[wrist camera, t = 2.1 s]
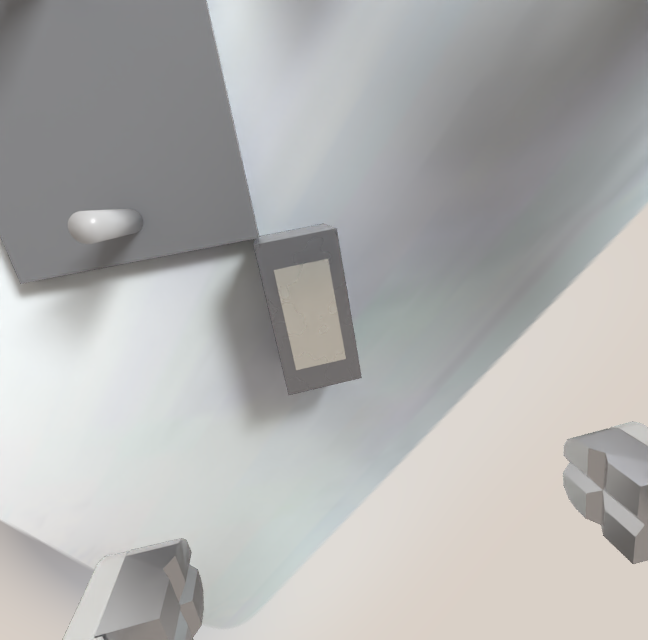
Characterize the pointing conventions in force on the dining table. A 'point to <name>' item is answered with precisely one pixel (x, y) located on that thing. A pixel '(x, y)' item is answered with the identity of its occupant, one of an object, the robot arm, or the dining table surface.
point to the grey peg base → (114, 136)
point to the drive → (308, 306)
